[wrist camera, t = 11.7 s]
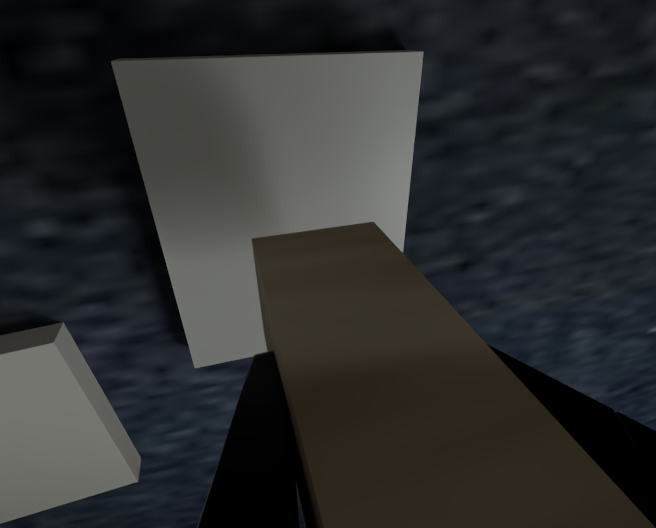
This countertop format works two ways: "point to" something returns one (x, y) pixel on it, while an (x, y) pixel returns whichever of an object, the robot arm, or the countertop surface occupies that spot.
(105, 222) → the countertop surface
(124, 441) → the tile
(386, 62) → the grey flat plate
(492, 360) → the stick
